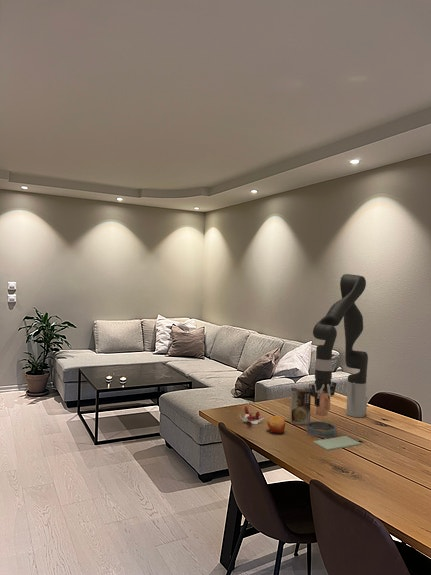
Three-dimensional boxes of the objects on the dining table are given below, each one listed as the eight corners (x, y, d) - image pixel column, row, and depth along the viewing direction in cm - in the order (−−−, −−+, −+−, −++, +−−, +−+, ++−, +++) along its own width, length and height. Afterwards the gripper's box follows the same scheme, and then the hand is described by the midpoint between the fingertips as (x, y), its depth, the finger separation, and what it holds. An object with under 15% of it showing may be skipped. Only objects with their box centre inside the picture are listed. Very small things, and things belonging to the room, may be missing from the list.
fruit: (288, 426, 199) (286, 413, 195) (284, 439, 193) (282, 427, 189) (271, 423, 202) (269, 411, 199) (266, 436, 196) (264, 424, 193)
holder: (323, 426, 205) (323, 420, 205) (342, 435, 193) (342, 429, 193) (300, 429, 199) (301, 423, 199) (318, 439, 188) (319, 432, 187)
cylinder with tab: (313, 412, 197) (314, 391, 197) (322, 411, 200) (323, 390, 199) (324, 418, 191) (325, 395, 190) (333, 416, 193) (334, 394, 193)
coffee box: (308, 420, 212) (309, 388, 212) (310, 425, 206) (311, 391, 205) (289, 419, 213) (291, 387, 213) (290, 424, 207) (292, 390, 206)
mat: (346, 437, 191) (346, 435, 191) (360, 444, 183) (360, 443, 183) (313, 442, 184) (313, 441, 184) (327, 450, 176) (327, 449, 176)
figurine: (266, 428, 199) (267, 414, 199) (242, 428, 198) (242, 414, 198) (259, 417, 214) (260, 404, 214) (236, 418, 213) (237, 404, 213)
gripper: (315, 371, 189) (314, 409, 190) (341, 369, 195) (340, 406, 196) (305, 367, 196) (304, 404, 197) (330, 365, 202) (329, 401, 203)
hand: (322, 405), depth 196 cm, fingers closed on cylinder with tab, 5 cm apart
